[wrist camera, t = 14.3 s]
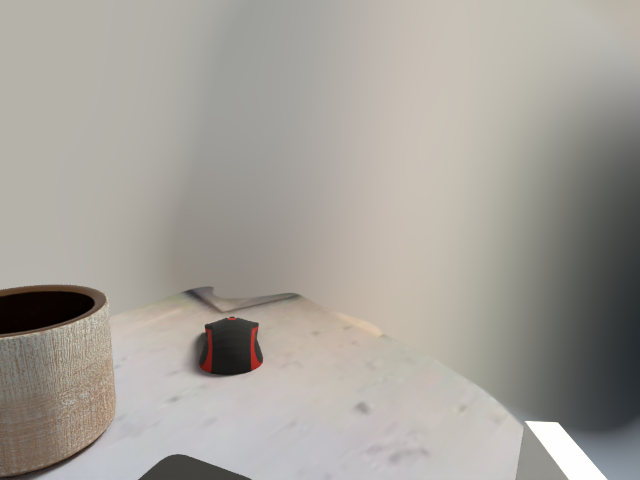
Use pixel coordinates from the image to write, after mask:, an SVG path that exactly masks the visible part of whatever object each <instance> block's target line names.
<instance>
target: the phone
mask: <svg viewBox="0 0 640 480" xmlns="http://www.w3.org/2000/svg"><path fill="white" fill-rule="evenodd" d="M138 480H251V479H250V478H247V477H245V476H242V475H239V474H236V473H234V472H231V471H228V470H225V469H223V468H220V467H217V466H214V465H212V464H209V463H206V462H203V461H200V460H198V459H195V458H192V457H189V456H186V455H181V454H176V455H171V456H168V457H166V458H164V459H162V460H161V461H160V462H158V463H157V464H156V465H155V466H154V467H152V468H151V469H150V470H149V471H148V472H147V473H145V474H144V475H143V476H142V477H141V478H140V479H138Z"/></svg>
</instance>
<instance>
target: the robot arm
mask: <svg viewBox="0 0 640 480" xmlns="http://www.w3.org/2000/svg"><path fill="white" fill-rule="evenodd" d="M515 480H607V479H606V478H605V477H604V476H603V474H602V473H601V472H600V471H599V470H598V469H597V467H596V466H595V465H594V464H593V463H592V462H591V460H590V459H589V458H588V457H587V456H586V455H585V454H584V453H583V451H582V450H581V449H580V448H579V447H578V445H577V444H576V443H575V442H574V441H573V440H572V439H571V437H570V436H569V435H568V434H567V433H566V432H565V431H564V429H563V428H562V427H561V426H560V425H559V424H558V423H554V422H531V421H530V422H529V421H525V425H524V431H523V437H522V443H521V449H520V455H519V461H518V467H517V473H516V479H515Z"/></svg>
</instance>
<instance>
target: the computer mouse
mask: <svg viewBox="0 0 640 480" xmlns="http://www.w3.org/2000/svg"><path fill="white" fill-rule="evenodd" d="M258 325H259V323H256V322H251V321H247V320H244V319H240V318H235V317H230V318H225V319H222V320H219V321H217V322H214V323H210V324H206V325H205V330H206V337H207V340H206V343H205V346H204V348H203V351H202V354H201V357H200V361H199V365H200V367H201V368H202V369H203V370H205V371H207V372H210V373H213V374H222V375H232V374H241V373H246V372H250V371H252V370H254V369H256V368H258V367H259V366H260V365H261V364H262V363H263V356H262V353H261V350H260V346H259V344H258V341H257V332H258Z"/></svg>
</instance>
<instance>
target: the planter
mask: <svg viewBox="0 0 640 480" xmlns="http://www.w3.org/2000/svg"><path fill="white" fill-rule="evenodd" d="M115 407H116V397H115V383H114V371H113V359H112V346H111V333H110V318H109V302H108V297H107V296H106V295H105V294H104V293H103V292H100V291H99V290H96V289H92V288H88V287H83V286H75V285H36V286H24V287H17V288H9V289H3V290H0V477H8V476H16V475H20V474H24V473H28V472H32V471H36V470H39V469H43V468H45V467H48V466H50V465H53V464H55V463H58V462H60V461H62V460H64V459H66V458H68V457H70V456H72V455H74V454H75V453H77V452H79V451H80V450H82V449H83V448H85V447H86V446H88V445H89V444H91V443H92V442H93V441H94V440H96V439H97V438H98V437H99V436H100V435H101V434H102V433H103V432H104V431H105V430H106V429H107V427H108V426H109V425H110V423H111V422H112V420H113V417H114V414H115Z"/></svg>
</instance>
